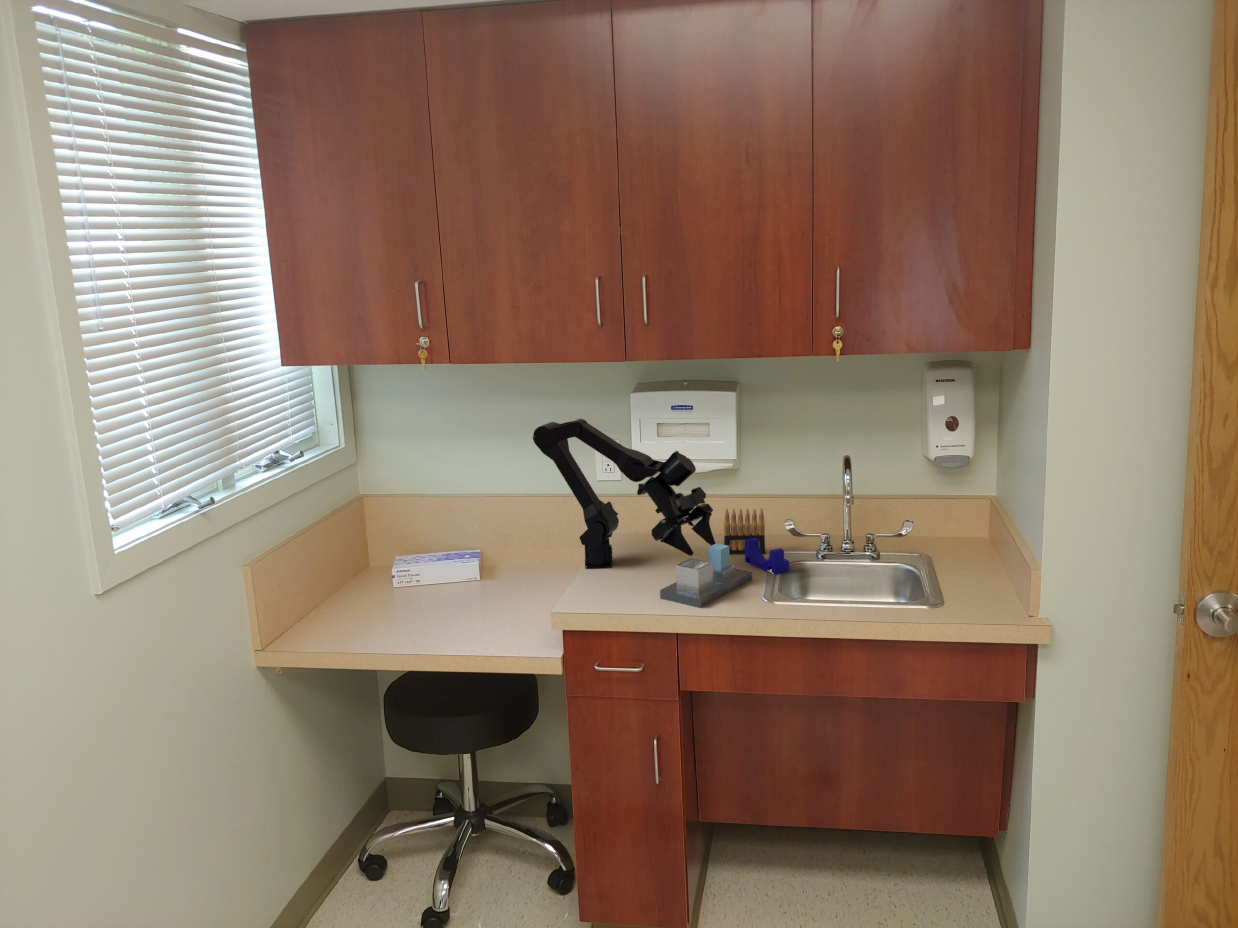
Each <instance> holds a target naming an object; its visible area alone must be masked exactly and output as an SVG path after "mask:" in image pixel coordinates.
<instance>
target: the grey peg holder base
mask: <svg viewBox="0 0 1238 928" xmlns="http://www.w3.org/2000/svg"><path fill="white" fill-rule="evenodd" d="M675 571H676V572H675V573H676V577H675V578H676V581H675V582H674V583H671V584H669V585H668V586H665V587H663V588H661V589H660V590H659V597H660V598H659V599H662V600H666V601H670V602H674V603H678V604H683V605H687V606H690V607H691V606H692V607H696V608H699V609H700V608H703V607H705V606H707V605H709V604H710V603H713V602H714V601H716V600H718V599H720V598H721V597H723V596H726V595H727V594H729V593H731V592H733V591H734V590H736V589H738V588H740V587H741V586H744V585H746V584H747V583H749V582H751V581H753V571H747V570H744V569H739V568H737V565H735V564H730V567H729V568H727V569H725V570H723V571H718V570H713V563H712V562H708V560H701V559H697V558H692V557H691V558H688V559H687V560H684V561H682V562H680V563H678V564H675Z"/></svg>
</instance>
